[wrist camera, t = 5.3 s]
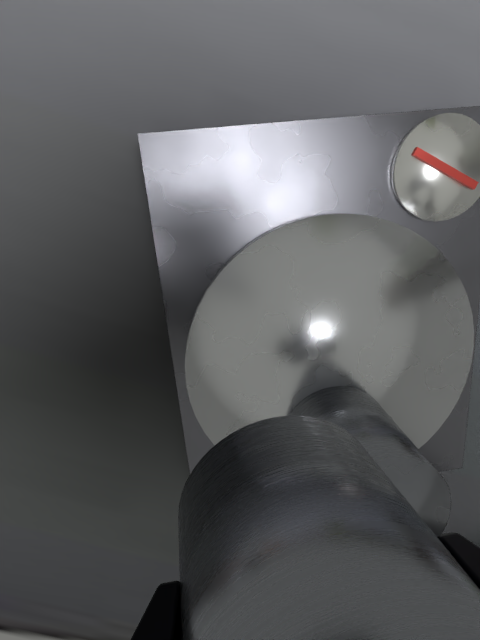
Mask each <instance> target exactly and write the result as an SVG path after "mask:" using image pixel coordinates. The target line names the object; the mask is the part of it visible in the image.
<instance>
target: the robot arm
mask: <svg viewBox="0 0 480 640" xmlns="http://www.w3.org/2000/svg"><path fill="white" fill-rule="evenodd" d="M437 538H438V539H439V540H440V541H441V542H442V544H443V545H444V546H445V547H446V549H447V550H448V551H449V552H450V554H451V555H452V556H453V557H454V558H455V560H456V561H457V562H458V563H459V565H460V566H461V567H462V568H463V569H464V571H465V572H466V573H467V574H468V576H469V577H470V578H471V579H472V580H473V582H474V583H475V584H476V585H477V587H478V588H479V589H480V548H479V547H477V546H476V545H475V544H473V543H472V542H470V541H469V540H467V539H466V538H464V537H463V536H461V535H460V534H457V533H447V534H441V535H437ZM131 640H181V602H180V582H179V581H173V582H167V583H162V584H160V585H159V586H158V588H157V589H156V591H155V593H154V595H153V597H152V599H151V601H150V603H149V605H148V607H147V609H146V611H145V613H144V615H143V617H142V619H141V621H140V623H139V624H138V626H137V628H136V630H135V632H134V634H133V636H132V638H131Z"/></svg>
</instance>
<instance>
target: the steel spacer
mask: <svg viewBox="0 0 480 640" xmlns="http://www.w3.org/2000/svg"><path fill="white" fill-rule="evenodd" d="M178 525H179V564H180V602H181V640H480V589H479V588H478V587H477V585H476V584H475V583H474V582H473V580H472V579H471V578H470V577H469V576H468V574H467V573H466V572H465V571H464V569H463V568H462V567H461V566H460V565H459V563H458V562H457V561H456V560H455V558H454V557H453V556H452V555H451V554H450V552H449V551H448V550H447V549H446V547H445V546H444V545H443V544H442V542H441V541H440V540H439V539H438V538H437V536H436V535H435V534H434V533H433V531H432V530H431V529H430V528H429V527H428V525H427V524H426V523H425V522H424V520H423V519H422V518H421V517H420V516H419V514H418V513H417V512H416V511H415V509H414V508H413V507H412V506H411V505H410V503H409V502H408V501H407V500H406V498H405V497H404V496H403V495H402V494H401V492H400V491H399V490H398V489H397V487H396V486H395V485H394V484H393V483H392V481H391V480H390V479H389V478H388V476H387V475H386V474H385V473H384V472H383V470H382V469H381V468H380V467H379V465H378V464H377V463H376V462H375V460H374V459H373V458H372V457H371V456H370V454H369V453H368V452H367V451H366V449H365V448H364V447H363V446H362V445H361V444H360V442H359V441H358V440H357V439H356V438H355V437H354V436H353V435H352V434H350V433H349V432H348V431H347V430H345V429H343V428H342V427H340V426H338V425H336V424H334V423H332V422H329V421H327V420H323V419H319V418H316V417H309V416H301V415H295V416H280V417H273V418H268V419H264V420H260V421H257V422H255V423H252V424H249V425H247V426H244V427H243V428H241V429H239V430H237V431H235V432H233V433H231V434H230V435H228V436H227V437H225V438H224V439H222V440H221V441H219V442H218V443H217V444H216V445H215V446H213V447H212V448H211V449H210V450H209V451H208V452H207V453H206V454H205V455H204V456H203V457H202V458H201V459H200V461H199V462H198V464H197V465H196V466H195V468H194V469H193V470H192V472H191V474H190V476H189V478H188V479H187V481H186V484H185V486H184V489H183V492H182V494H181V499H180V503H179V514H178Z"/></svg>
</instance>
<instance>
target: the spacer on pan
mask: <svg viewBox="0 0 480 640" xmlns="http://www.w3.org/2000/svg"><path fill="white" fill-rule="evenodd" d="M295 415H301V416H309V417H316V418H319V419H323V420H327V421H329V422H332V423H334V424H336V425H338V426H340V427H342V428H343V429H345V430H347V431H348V432H349V433H350V434H352V435H353V436H354V437H355V438H356V439H357V440H358V441H359V442H360V444H361V445H362V446H363V447H364V448H365V449H366V451H367V452H368V453H369V454H370V456H371V457H372V458H373V459H374V460H375V462H376V463H377V464H378V465H379V467H380V468H381V469H382V470H383V472H384V473H385V474H386V475H387V476H388V478H389V479H390V480H391V481H392V483H393V484H394V485H395V486H396V487H397V489H398V490H399V491H400V492H401V494H402V495H403V496H404V497H405V498H406V500H407V501H408V502H409V503H410V505H411V506H412V507H413V508H414V509H415V511H416V512H417V513H418V514H419V516H420V517H421V518H422V519H423V520H424V522H425V523H426V524H427V525H428V527H429V528H430V529H431V530H432V531H433V533H434V534H435V535H436V536H437V535H441V534H442V532H443V530H444V528H445V526H446V524H447V522H448V519H449V516H450V510H451V497H450V492H449V489H448V486H447V484H446V482H445V480H444V479H443V477H442V476H441V475H440V473H439V472H438V471H437V470H436V469H435V468H434V467H433V465H432V464H431V463H430V462H429V461H428V460H427V459H426V457H425V456H424V455H423V454H422V453H421V452H420V451H419V449H418V448H417V447H416V446H415V445H414V444H413V442H412V441H411V440H410V439H409V438H408V437H407V436H406V434H405V433H404V432H403V431H402V430H401V429H400V428H399V426H398V425H397V424H396V423H395V422H394V421H393V420H392V418H391V417H390V416H389V415H388V414H387V413H386V411H385V410H384V409H383V408H382V407H381V406H380V405H379V403H378V402H377V401H376V400H375V399H374V398H373V397H372V396H370V395H369V394H367V393H366V392H364V391H362V390H359V389H356V388H353V387H347V386H335V387H329V388H324V389H321V390H318V391H316V392H314V393H312V394H310V395H308V396H307V397H305V398H304V399H303V400H301V401H300V402H299V403H298V404H297V405H296V406H295V407H294V408H293V410H292V411H291V412H290V414H289V415H288V416H295Z"/></svg>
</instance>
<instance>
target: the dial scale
mask: <svg viewBox="0 0 480 640" xmlns="http://www.w3.org/2000/svg"><path fill="white" fill-rule="evenodd" d="M138 139H139V145H140V152H141V158H142V165H143V171H144V178H145V184H146V191H147V197H148V204H149V210H150V217H151V223H152V230H153V236H154V243H155V249H156V256H157V262H158V269H159V275H160V282H161V288H162V295H163V301H164V308H165V314H166V321H167V327H168V334H169V340H170V347H171V353H172V360H173V366H174V373H175V379H176V386H177V392H178V399H179V405H180V412H181V418H182V425H183V431H184V438H185V444H186V451H187V458H188V464H189V471H190V474H191V472H192V470H193V469H194V468H195V466H196V465H197V464H198V462H199V461H200V459H201V458H202V457H203V456H204V455H205V454H206V453H207V452H208V451H209V450H210V449H211V448H212V447H213V446H215V445H216V444H217V443H218V442H219V441H221V440H222V439H224V438H225V437H227V436H228V435H230V434H231V433H233V432H235V431H237V430H239V429H241V428H243V427H244V426H247V425H249V424H252V423H255V422H257V421H260V420H264V419H268V418H273V417H280V416H288V415H289V414H290V412H291V411H292V410H293V408H294V407H295V406H296V405H297V404H298V403H299V402H300V401H301V400H303V399H304V398H305V397H307V396H308V395H310V394H312V393H314V392H316V391H318V390H321V389H324V388H329V387H335V386H347V387H353V388H356V389H359V390H362V391H364V392H366V393H367V394H369V395H370V396H372V397H373V398H374V399H375V400H376V401H377V402H378V403H379V405H380V406H381V407H382V408H383V409H384V410H385V411H386V413H387V414H388V415H389V416H390V417H391V418H392V420H393V421H394V422H395V423H396V424H397V425H398V426H399V428H400V429H401V430H402V431H403V432H404V433H405V434H406V436H407V437H408V438H409V439H410V440H411V441H412V442H413V444H414V445H415V446H416V447H417V448H418V449H419V451H420V452H421V453H422V454H423V455H424V456H425V457H426V459H427V460H428V461H429V462H430V463H431V464H432V465H433V467H434V468H435V469H436V470H437V471H438V472H439V471H446V470H453V469H460V468H462V467H463V457H464V447H465V438H466V428H467V418H468V409H469V399H470V389H471V379H472V370H473V360H474V350H475V340H476V331H477V321H478V311H479V301H480V106H473V107H461V108H449V109H436V110H424V111H412V112H399V113H387V114H375V115H363V116H350V117H338V118H326V119H313V120H301V121H289V122H276V123H264V124H252V125H240V126H227V127H215V128H203V129H190V130H178V131H166V132H153V133H141V134H138Z"/></svg>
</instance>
